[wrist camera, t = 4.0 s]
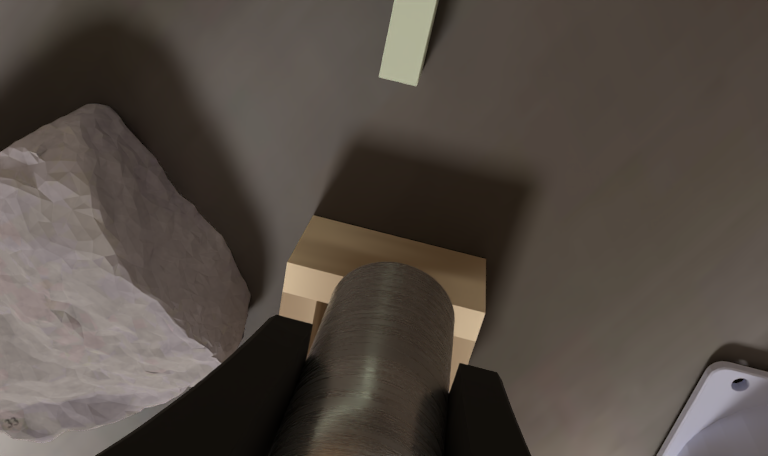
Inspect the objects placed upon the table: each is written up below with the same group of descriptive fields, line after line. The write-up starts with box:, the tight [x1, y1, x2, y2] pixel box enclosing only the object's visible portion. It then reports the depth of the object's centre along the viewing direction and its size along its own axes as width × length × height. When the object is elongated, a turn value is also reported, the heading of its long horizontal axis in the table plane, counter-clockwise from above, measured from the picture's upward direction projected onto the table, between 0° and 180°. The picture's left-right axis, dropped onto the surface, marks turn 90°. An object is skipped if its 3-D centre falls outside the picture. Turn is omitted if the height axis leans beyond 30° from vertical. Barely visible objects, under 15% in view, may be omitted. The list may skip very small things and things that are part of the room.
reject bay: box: [379, 0, 439, 86], centre depth 18 cm, size 18×12×2 cm, turn 78°
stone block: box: [0, 103, 251, 443], centre depth 22 cm, size 12×5×10 cm
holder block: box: [279, 215, 486, 392], centre depth 20 cm, size 6×6×3 cm
